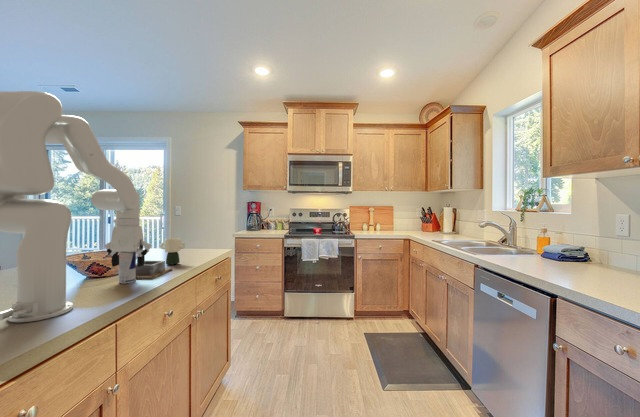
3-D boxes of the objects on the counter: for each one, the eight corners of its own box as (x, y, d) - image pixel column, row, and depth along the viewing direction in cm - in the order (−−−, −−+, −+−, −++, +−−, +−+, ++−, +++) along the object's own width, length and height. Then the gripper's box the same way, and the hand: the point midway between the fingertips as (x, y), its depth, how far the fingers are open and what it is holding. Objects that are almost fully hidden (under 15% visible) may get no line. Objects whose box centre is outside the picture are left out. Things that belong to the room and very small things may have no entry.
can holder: (151, 279, 110) (151, 267, 110) (121, 279, 110) (121, 266, 109) (172, 270, 126) (172, 259, 126) (146, 269, 125) (146, 259, 125)
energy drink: (138, 280, 108) (139, 250, 108) (128, 284, 103) (128, 252, 103) (126, 279, 109) (126, 250, 108) (115, 283, 103) (115, 252, 103)
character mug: (186, 262, 142) (186, 238, 142) (182, 265, 135) (182, 239, 135) (163, 263, 140) (163, 238, 140) (158, 266, 133) (158, 240, 133)
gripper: (97, 223, 102) (98, 268, 102) (144, 223, 102) (144, 268, 102) (112, 221, 109) (113, 263, 109) (156, 222, 109) (156, 263, 110)
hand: (128, 265), depth 106 cm, fingers open, 9 cm apart
